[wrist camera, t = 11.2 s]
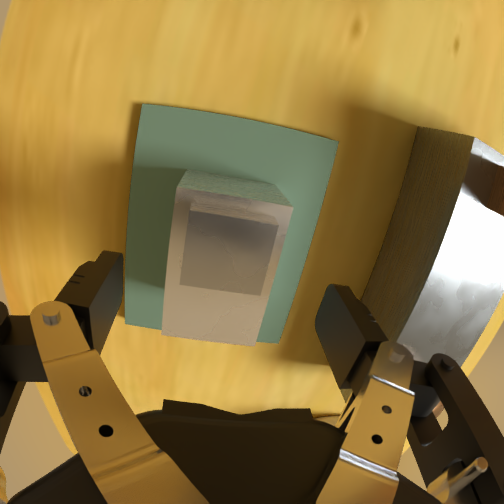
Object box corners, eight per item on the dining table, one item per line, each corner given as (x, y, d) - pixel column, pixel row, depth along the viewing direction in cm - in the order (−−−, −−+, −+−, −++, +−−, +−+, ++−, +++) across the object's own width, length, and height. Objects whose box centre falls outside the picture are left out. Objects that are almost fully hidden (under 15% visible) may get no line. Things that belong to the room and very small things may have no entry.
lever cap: (187, 169, 15) (173, 193, 10) (275, 184, 16) (299, 215, 11) (170, 290, 18) (158, 348, 13) (247, 301, 18) (257, 360, 14)
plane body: (418, 126, 15) (530, 151, 8) (493, 166, 17) (583, 204, 9) (330, 366, 22) (367, 458, 15) (408, 364, 24) (452, 436, 16)
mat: (145, 103, 14) (142, 103, 13) (335, 140, 16) (339, 141, 15) (127, 318, 19) (125, 323, 18) (277, 337, 21) (278, 343, 20)
